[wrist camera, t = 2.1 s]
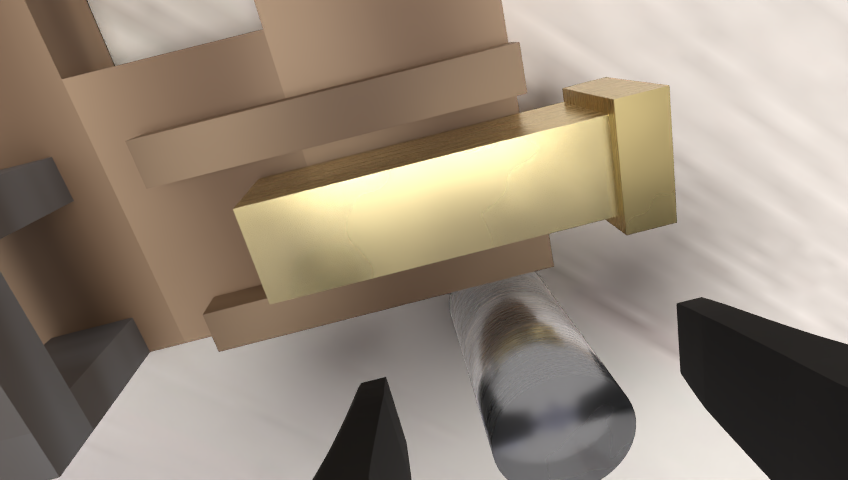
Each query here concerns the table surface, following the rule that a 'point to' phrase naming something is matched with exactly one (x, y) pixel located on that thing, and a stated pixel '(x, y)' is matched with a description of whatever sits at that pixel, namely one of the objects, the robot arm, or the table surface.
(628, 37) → the table surface
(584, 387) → the cylinder
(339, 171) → the lock pin
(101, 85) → the dock
